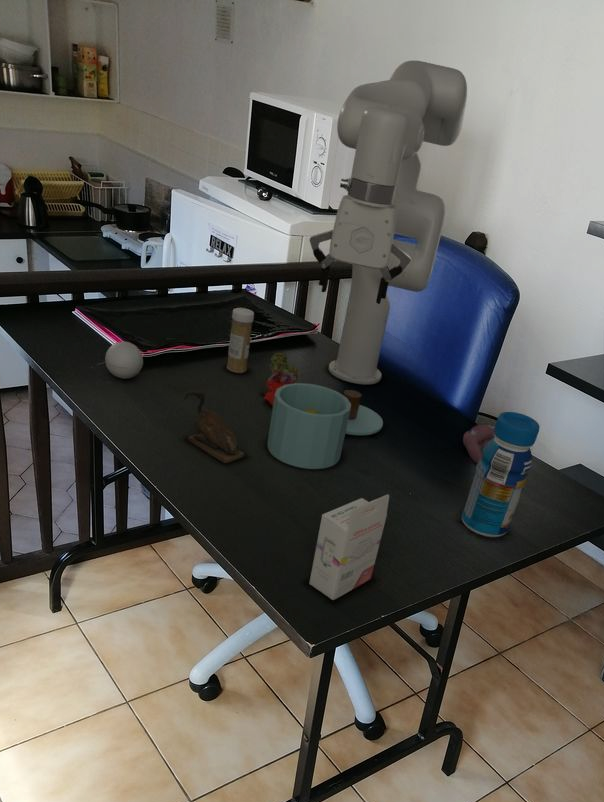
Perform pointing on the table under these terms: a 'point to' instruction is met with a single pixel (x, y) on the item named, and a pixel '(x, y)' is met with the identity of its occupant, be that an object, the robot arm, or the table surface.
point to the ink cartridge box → (348, 546)
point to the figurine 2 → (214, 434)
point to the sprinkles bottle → (240, 340)
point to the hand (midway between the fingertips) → (351, 296)
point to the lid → (361, 416)
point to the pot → (308, 425)
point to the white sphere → (124, 360)
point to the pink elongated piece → (478, 440)
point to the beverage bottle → (501, 475)
